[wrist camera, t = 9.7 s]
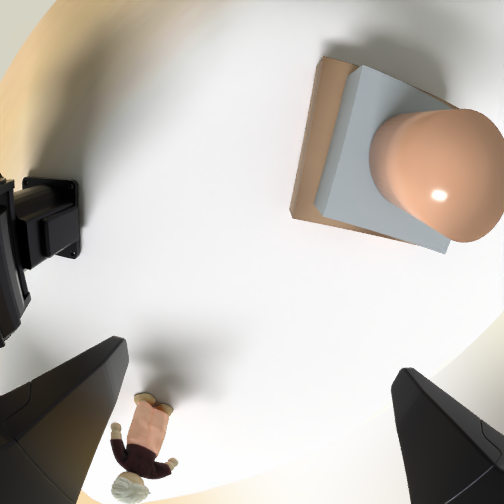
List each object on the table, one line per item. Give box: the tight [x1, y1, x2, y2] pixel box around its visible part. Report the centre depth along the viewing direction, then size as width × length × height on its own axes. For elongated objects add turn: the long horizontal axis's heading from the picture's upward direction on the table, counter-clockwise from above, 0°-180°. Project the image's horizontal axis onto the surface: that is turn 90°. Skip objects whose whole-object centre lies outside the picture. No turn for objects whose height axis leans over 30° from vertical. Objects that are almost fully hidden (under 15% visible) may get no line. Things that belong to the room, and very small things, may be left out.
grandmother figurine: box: [110, 393, 178, 504], centre depth 22 cm, size 8×4×13 cm, turn 57°
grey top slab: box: [314, 65, 453, 254], centre depth 14 cm, size 8×8×3 cm
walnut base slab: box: [289, 56, 459, 246], centre depth 17 cm, size 10×10×3 cm
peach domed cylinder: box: [369, 109, 504, 242], centre depth 10 cm, size 5×5×5 cm
